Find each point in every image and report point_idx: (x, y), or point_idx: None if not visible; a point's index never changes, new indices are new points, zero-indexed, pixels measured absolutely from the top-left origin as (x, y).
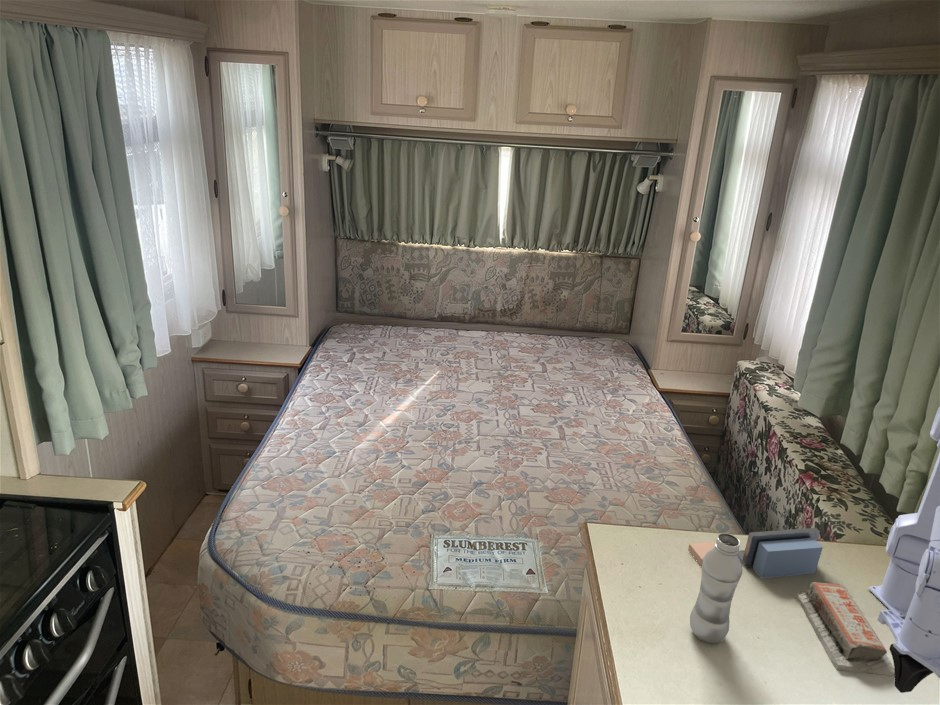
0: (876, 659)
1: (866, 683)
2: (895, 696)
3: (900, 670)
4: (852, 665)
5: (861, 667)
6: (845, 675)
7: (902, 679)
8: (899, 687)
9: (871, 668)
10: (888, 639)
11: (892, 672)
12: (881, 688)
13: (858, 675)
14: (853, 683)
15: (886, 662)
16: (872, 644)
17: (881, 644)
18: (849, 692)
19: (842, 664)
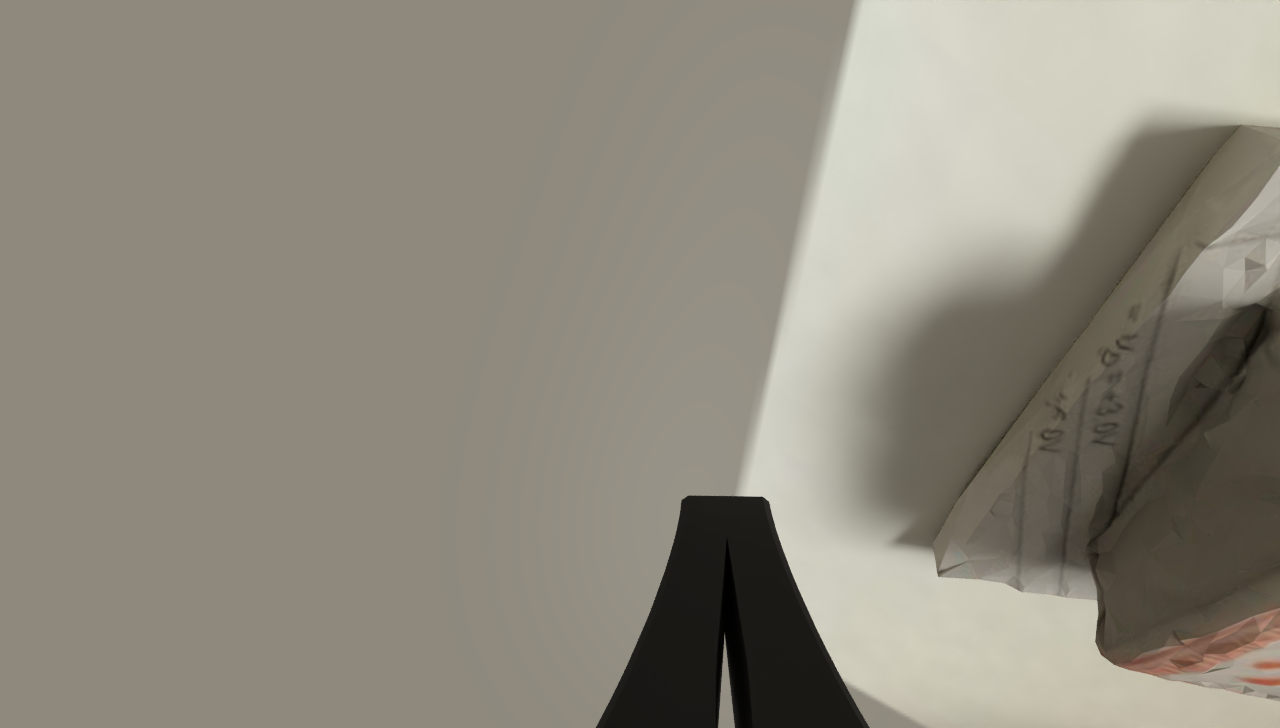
0: (1099, 532)
1: (947, 313)
2: (763, 437)
3: (753, 721)
4: (1175, 311)
5: (1104, 377)
6: (1121, 174)
7: (682, 637)
8: (701, 527)
9: (1048, 446)
10: None
11: (948, 546)
12: (859, 393)
13: (1053, 303)
14: (998, 190)
15: (1038, 568)
16: (1259, 641)
17: (1195, 681)
18: (917, 58)
19: (1260, 208)
